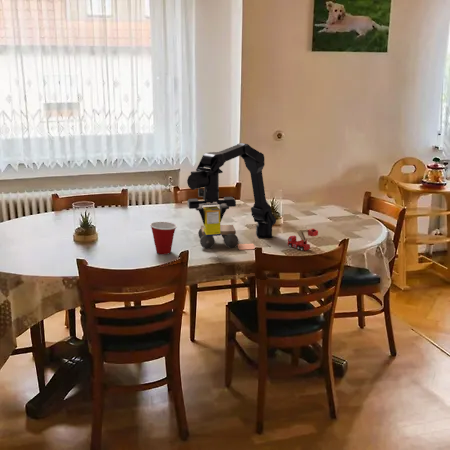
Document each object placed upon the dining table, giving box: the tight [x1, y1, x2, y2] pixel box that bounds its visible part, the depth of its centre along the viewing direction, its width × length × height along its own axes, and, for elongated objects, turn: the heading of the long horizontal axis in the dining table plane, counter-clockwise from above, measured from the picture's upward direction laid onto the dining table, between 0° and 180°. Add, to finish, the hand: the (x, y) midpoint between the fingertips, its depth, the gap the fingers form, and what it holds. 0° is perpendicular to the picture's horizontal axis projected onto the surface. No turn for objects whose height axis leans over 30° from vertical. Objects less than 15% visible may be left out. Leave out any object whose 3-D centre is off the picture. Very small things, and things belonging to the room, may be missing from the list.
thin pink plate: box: [236, 243, 256, 251], centre depth 230 cm, size 7×7×1 cm
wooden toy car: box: [197, 224, 239, 250], centre depth 233 cm, size 16×13×7 cm
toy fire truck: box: [287, 228, 319, 252], centre depth 227 cm, size 3×14×10 cm, turn 44°
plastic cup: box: [149, 221, 178, 255], centre depth 221 cm, size 11×11×12 cm
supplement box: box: [202, 205, 221, 237], centre depth 218 cm, size 6×6×11 cm
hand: (211, 223), depth 219 cm, fingers closed on supplement box, 6 cm apart
